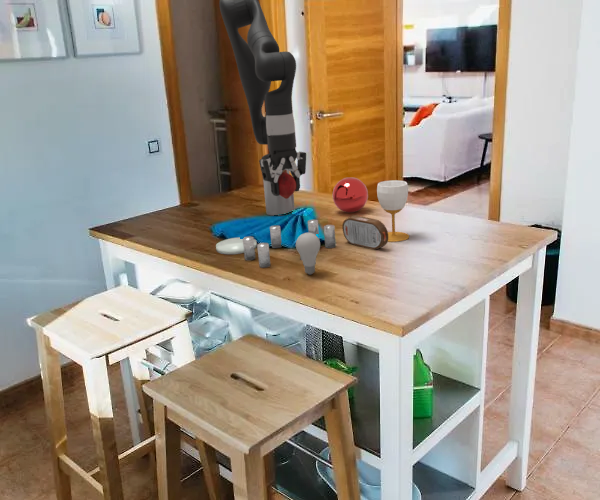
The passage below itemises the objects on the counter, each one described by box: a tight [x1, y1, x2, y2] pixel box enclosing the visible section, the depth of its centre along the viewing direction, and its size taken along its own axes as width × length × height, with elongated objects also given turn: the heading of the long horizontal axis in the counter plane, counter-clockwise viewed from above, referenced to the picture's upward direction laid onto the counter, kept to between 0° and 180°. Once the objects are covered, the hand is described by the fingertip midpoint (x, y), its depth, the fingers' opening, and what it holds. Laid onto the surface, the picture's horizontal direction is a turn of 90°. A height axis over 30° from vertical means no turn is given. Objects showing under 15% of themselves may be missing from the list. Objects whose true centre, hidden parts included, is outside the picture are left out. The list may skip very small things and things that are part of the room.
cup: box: [376, 179, 410, 243], centre depth 174 cm, size 9×9×16 cm
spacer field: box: [243, 219, 337, 268], centre depth 169 cm, size 25×18×6 cm
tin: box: [342, 214, 389, 250], centre depth 169 cm, size 15×3×8 cm, turn 44°
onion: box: [277, 170, 296, 199], centre depth 164 cm, size 6×6×8 cm
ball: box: [332, 177, 369, 214], centre depth 203 cm, size 12×12×12 cm
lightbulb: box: [295, 232, 321, 276], centre depth 151 cm, size 6×6×11 cm
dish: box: [215, 237, 258, 255], centre depth 177 cm, size 12×12×1 cm
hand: (286, 193), depth 165 cm, fingers closed on onion, 6 cm apart
